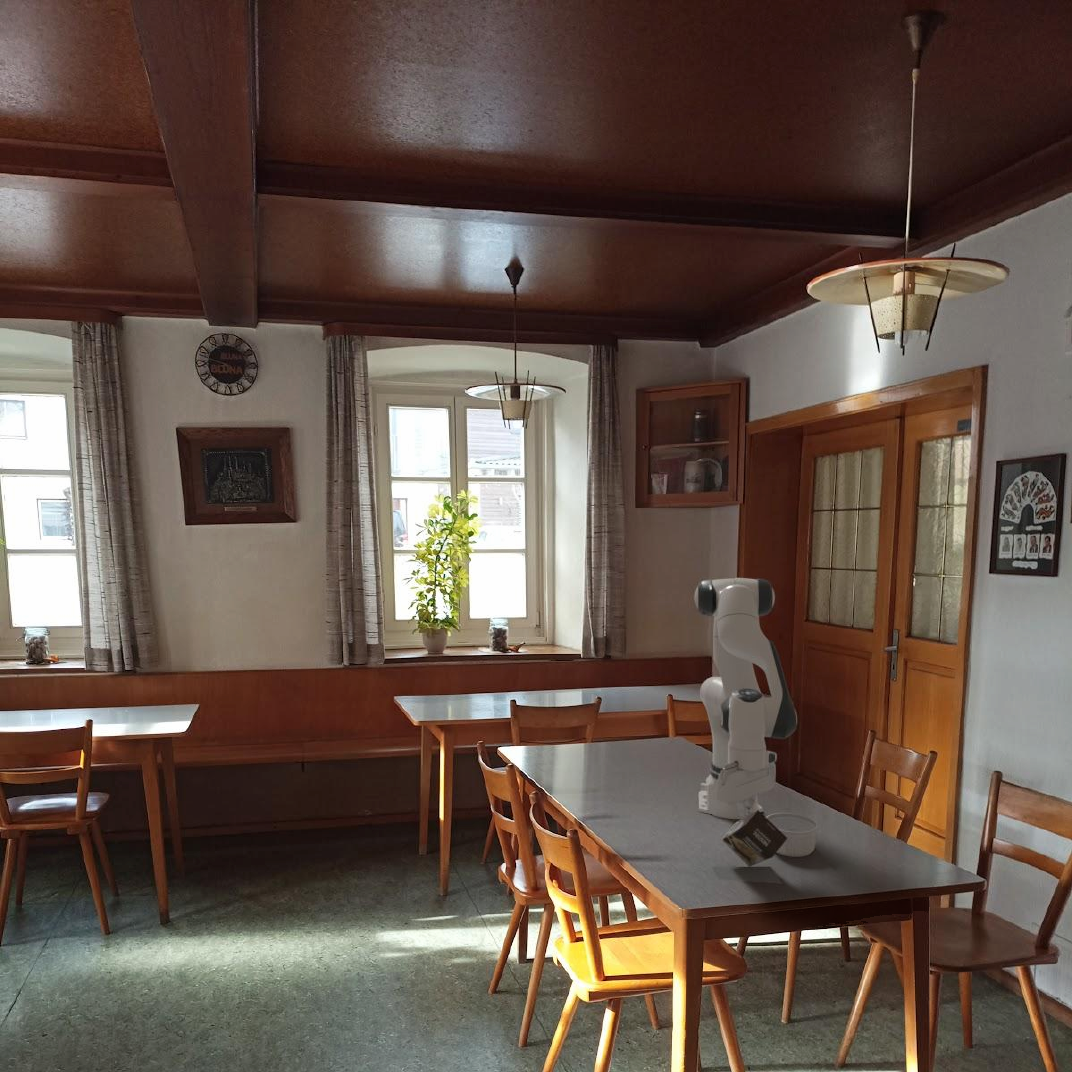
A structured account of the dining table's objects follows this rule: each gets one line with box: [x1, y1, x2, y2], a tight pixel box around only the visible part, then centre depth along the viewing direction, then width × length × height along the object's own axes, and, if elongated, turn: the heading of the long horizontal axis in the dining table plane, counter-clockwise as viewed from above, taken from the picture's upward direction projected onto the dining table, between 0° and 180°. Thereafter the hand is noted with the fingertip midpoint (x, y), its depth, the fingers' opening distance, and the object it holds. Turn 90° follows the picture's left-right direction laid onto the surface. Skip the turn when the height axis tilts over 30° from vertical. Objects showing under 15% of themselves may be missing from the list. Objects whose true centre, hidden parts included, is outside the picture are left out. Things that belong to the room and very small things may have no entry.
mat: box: [712, 866, 783, 885], centre depth 202 cm, size 10×14×1 cm
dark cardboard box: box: [721, 810, 787, 867], centre depth 204 cm, size 9×6×16 cm
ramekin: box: [765, 812, 819, 858], centre depth 219 cm, size 13×13×7 cm
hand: (745, 814), depth 207 cm, fingers closed
